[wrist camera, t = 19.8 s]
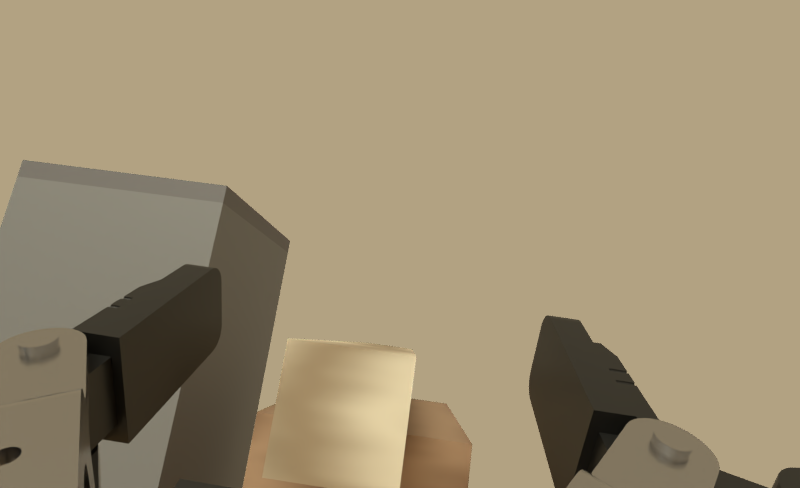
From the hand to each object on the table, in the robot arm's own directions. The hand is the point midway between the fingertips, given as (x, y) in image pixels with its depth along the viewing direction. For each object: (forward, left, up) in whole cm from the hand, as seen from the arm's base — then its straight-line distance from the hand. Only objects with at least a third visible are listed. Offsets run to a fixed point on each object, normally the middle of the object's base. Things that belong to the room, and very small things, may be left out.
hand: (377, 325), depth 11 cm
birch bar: (-1, +13, -4) cm, 13 cm away
